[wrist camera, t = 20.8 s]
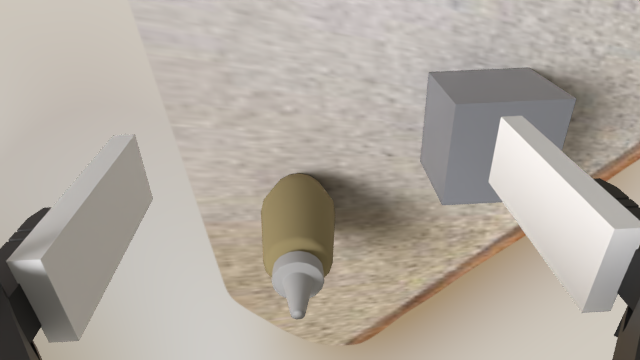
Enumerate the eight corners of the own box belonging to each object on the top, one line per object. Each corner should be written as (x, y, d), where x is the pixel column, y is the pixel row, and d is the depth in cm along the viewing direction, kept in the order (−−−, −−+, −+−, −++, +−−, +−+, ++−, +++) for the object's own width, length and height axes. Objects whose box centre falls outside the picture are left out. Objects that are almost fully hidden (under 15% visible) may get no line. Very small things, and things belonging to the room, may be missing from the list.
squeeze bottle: (335, 164, 49) (351, 277, 34) (330, 222, 53) (343, 347, 38) (262, 163, 49) (246, 276, 33) (263, 221, 53) (249, 347, 37)
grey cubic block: (429, 72, 44) (455, 104, 37) (529, 67, 44) (576, 98, 37) (420, 161, 49) (442, 205, 42) (509, 156, 49) (547, 199, 42)
